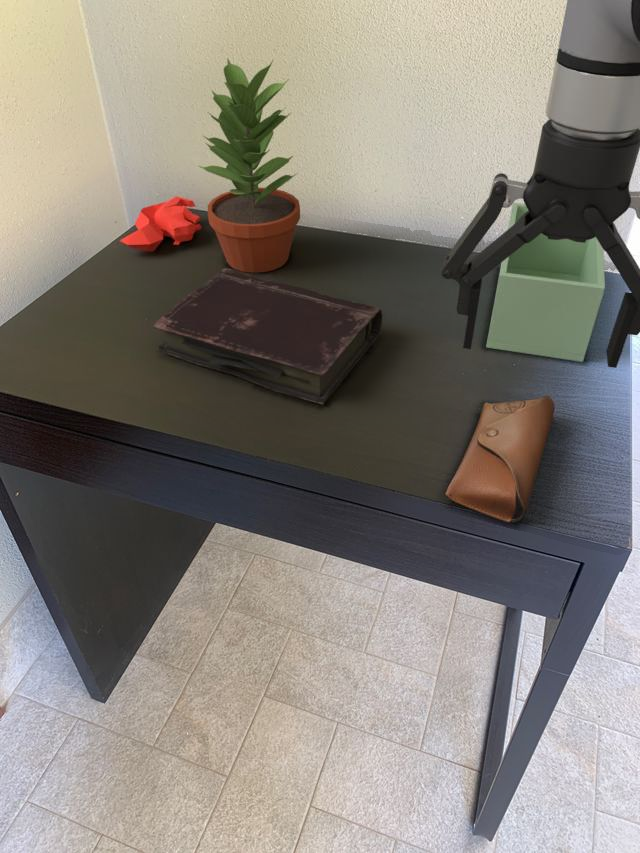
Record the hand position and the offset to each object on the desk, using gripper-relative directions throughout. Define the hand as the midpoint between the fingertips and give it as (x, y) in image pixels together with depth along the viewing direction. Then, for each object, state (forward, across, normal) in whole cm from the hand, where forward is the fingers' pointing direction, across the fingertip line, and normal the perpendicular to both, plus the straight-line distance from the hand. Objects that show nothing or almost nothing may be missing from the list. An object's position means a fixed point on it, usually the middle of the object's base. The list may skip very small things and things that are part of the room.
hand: (538, 350), depth 67 cm
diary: (+15, +33, -15) cm, 39 cm away
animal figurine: (+15, +60, -41) cm, 74 cm away
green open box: (+15, -3, -32) cm, 35 cm away
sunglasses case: (+15, +1, 0) cm, 15 cm away
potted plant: (+15, +43, -38) cm, 59 cm away
